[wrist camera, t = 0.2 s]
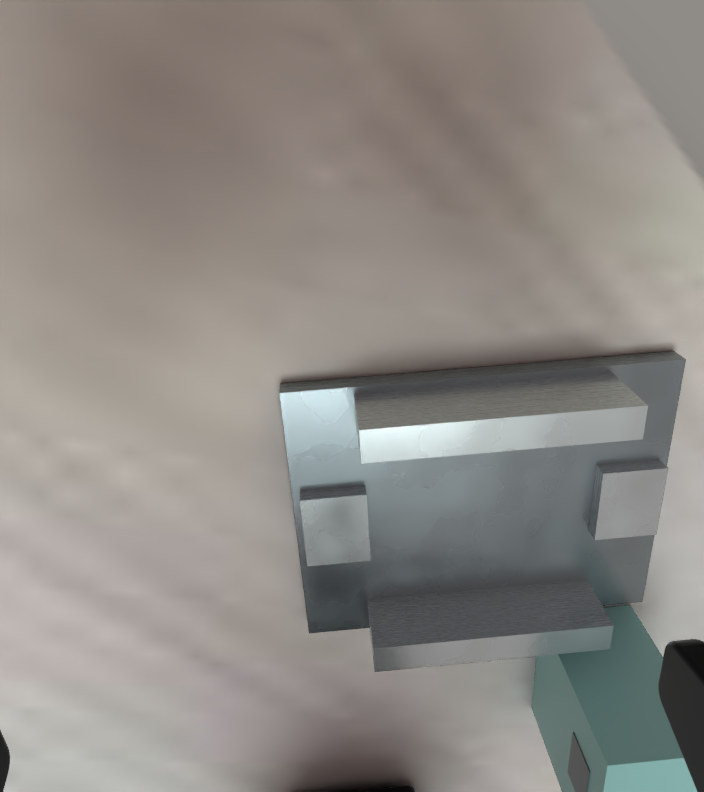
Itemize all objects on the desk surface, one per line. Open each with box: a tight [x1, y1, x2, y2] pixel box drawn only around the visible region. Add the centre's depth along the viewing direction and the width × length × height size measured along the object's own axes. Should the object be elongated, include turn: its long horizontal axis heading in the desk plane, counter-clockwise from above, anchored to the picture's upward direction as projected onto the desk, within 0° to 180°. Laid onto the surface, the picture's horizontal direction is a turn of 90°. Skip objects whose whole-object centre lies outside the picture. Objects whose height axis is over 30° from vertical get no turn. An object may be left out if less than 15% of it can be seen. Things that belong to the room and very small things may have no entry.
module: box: [532, 605, 697, 792], centre depth 26 cm, size 6×4×7 cm
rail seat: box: [280, 351, 686, 672], centre depth 23 cm, size 11×14×3 cm
